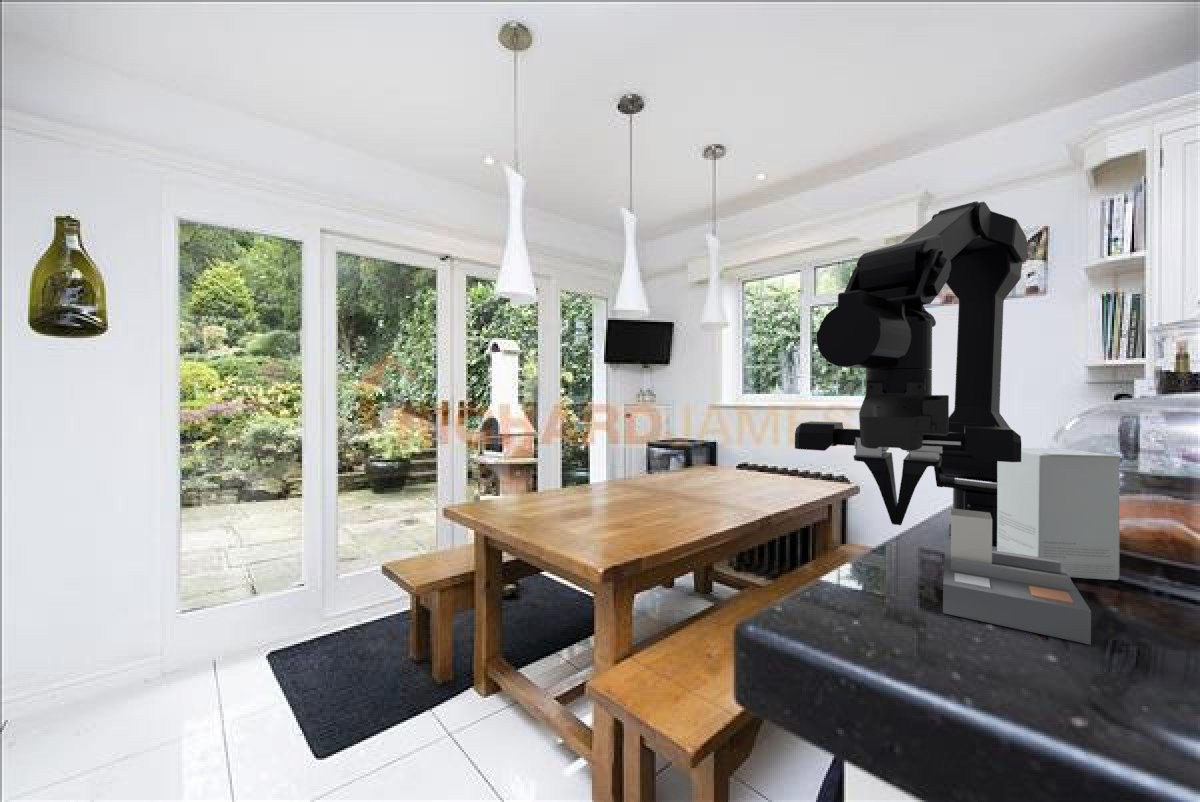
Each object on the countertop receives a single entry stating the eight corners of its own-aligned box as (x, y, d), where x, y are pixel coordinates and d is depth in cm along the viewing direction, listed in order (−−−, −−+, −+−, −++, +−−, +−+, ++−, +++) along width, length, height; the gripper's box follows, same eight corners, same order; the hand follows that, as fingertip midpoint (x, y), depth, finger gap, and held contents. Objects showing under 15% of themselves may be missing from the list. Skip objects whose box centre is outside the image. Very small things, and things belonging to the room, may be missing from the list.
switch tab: (950, 556, 48) (951, 508, 48) (989, 562, 46) (990, 512, 46) (950, 565, 46) (951, 514, 46) (991, 572, 44) (992, 519, 44)
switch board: (945, 566, 53) (945, 534, 53) (1058, 585, 48) (1058, 549, 48) (942, 613, 42) (943, 572, 42) (1090, 644, 36) (1091, 597, 36)
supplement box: (1122, 581, 49) (1124, 455, 48) (1036, 576, 50) (1037, 453, 50) (1068, 557, 56) (1069, 447, 56) (994, 553, 57) (995, 446, 57)
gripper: (780, 370, 48) (779, 527, 48) (1030, 362, 37) (1028, 565, 37) (807, 374, 57) (807, 506, 57) (1015, 368, 46) (1014, 532, 46)
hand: (896, 524), depth 50 cm, fingers closed
